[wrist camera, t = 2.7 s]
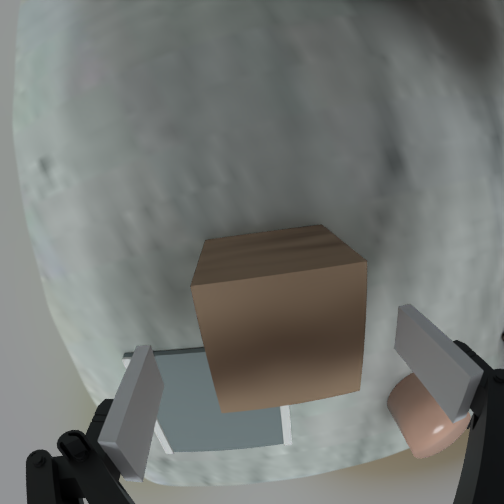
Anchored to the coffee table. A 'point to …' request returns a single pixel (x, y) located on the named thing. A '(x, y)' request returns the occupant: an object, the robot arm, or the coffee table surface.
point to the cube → (281, 316)
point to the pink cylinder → (422, 418)
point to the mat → (207, 410)
